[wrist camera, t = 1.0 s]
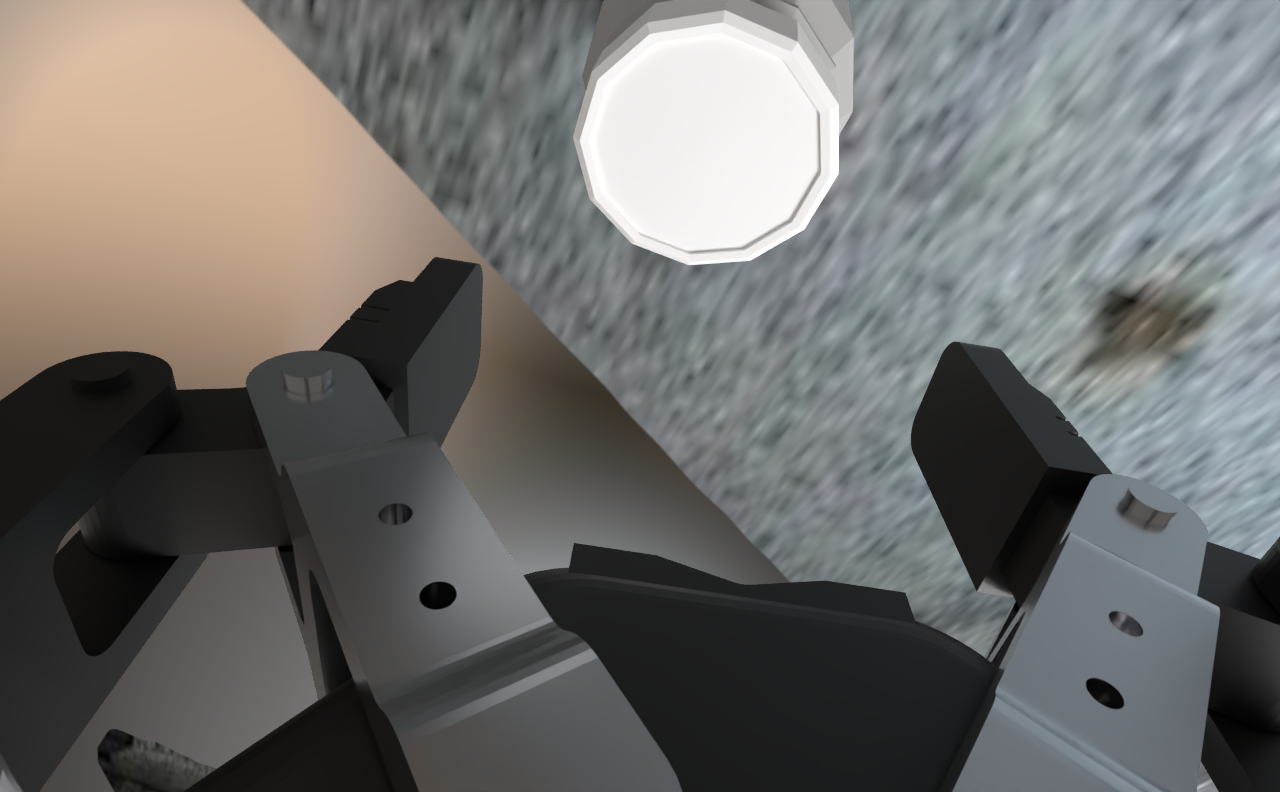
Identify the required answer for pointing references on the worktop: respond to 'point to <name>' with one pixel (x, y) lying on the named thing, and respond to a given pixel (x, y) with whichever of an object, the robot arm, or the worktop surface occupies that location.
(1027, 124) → the worktop surface
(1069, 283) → the worktop surface
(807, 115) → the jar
